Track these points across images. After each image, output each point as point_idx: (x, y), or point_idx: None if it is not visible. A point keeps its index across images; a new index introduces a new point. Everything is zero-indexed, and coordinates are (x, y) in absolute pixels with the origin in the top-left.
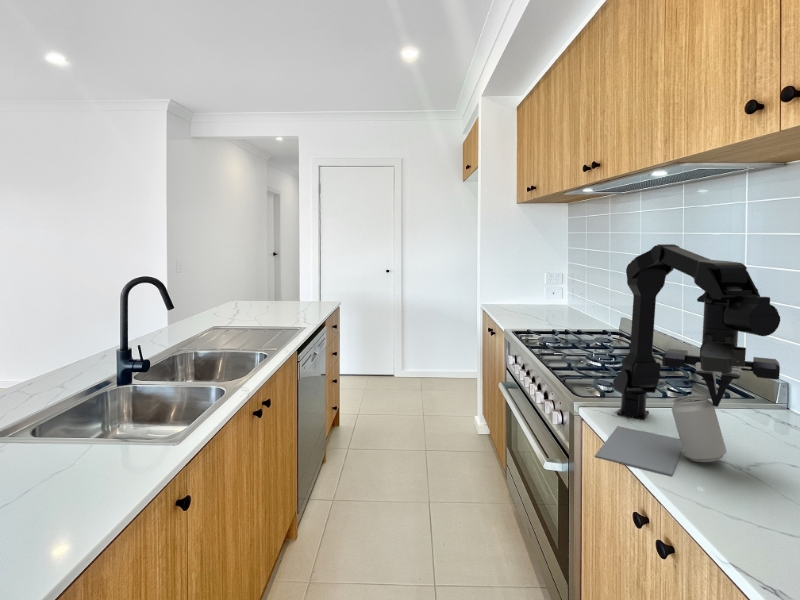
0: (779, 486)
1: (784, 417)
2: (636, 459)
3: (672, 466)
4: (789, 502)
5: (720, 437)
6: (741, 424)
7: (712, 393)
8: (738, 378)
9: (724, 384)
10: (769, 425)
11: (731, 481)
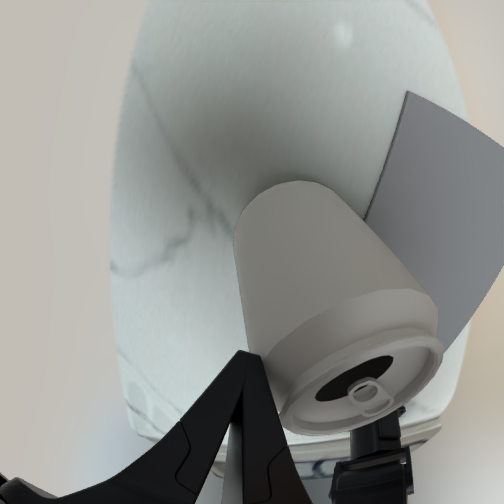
0: (139, 134)
1: (137, 421)
2: (475, 174)
3: (399, 147)
4: (139, 53)
5: (248, 241)
6: (187, 409)
7: (263, 421)
8: (9, 481)
9: (160, 477)
10: (151, 406)
11: (247, 109)
